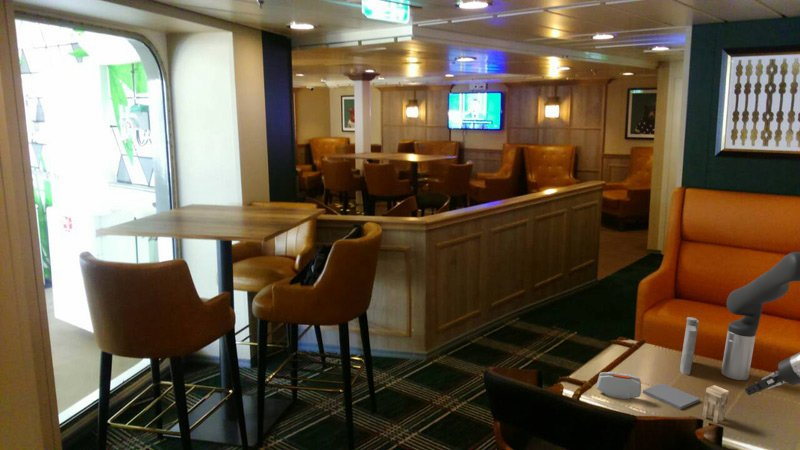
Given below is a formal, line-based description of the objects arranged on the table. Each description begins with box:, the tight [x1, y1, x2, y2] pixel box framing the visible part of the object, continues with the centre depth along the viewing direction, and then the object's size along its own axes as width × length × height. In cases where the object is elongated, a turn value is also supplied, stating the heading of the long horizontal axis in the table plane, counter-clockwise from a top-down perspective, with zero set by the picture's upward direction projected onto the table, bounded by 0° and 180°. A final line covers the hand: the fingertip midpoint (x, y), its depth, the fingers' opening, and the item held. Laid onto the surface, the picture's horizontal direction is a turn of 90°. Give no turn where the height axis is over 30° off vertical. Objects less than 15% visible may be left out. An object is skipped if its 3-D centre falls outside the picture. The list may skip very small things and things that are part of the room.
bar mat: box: [642, 382, 701, 410], centre depth 216 cm, size 12×14×1 cm
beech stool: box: [701, 384, 730, 424], centre depth 201 cm, size 5×5×10 cm
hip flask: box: [679, 316, 699, 376], centre depth 241 cm, size 16×4×20 cm, turn 152°
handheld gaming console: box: [596, 371, 642, 400], centre depth 214 cm, size 14×3×8 cm, turn 74°
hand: (753, 388), depth 191 cm, fingers open, 8 cm apart
